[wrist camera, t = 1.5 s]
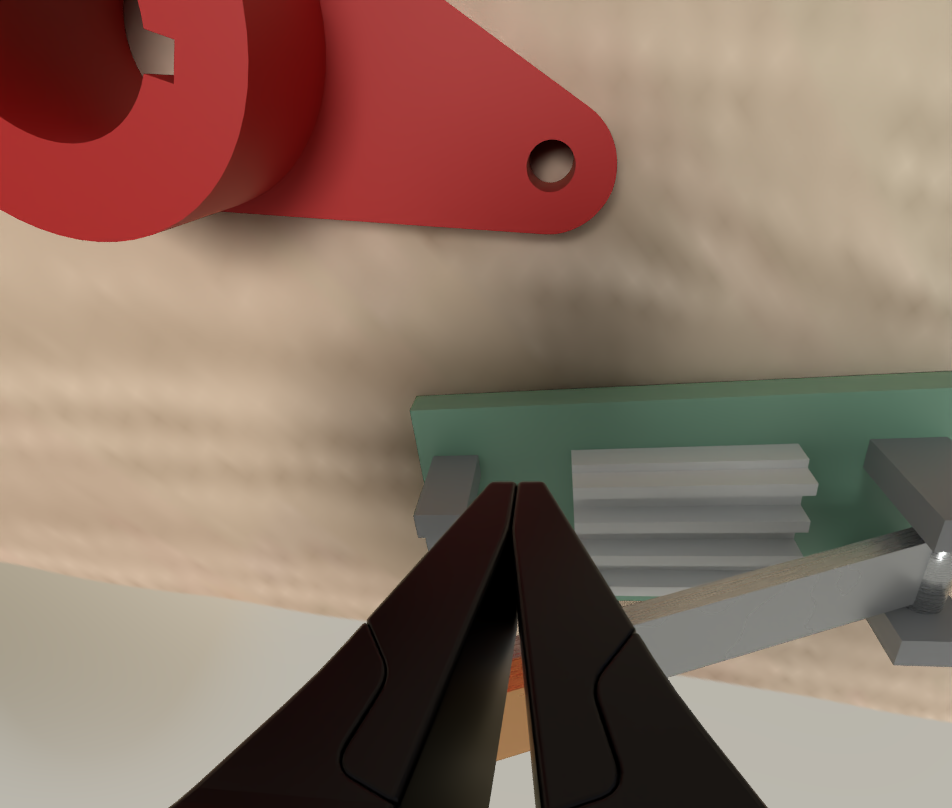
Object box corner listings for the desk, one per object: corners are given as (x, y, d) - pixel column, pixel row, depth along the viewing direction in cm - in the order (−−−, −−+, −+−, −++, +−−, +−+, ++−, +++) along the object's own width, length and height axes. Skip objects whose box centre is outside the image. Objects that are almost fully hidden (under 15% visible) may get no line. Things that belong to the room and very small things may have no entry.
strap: (942, 503, 18) (1005, 541, 17) (916, 578, 20) (970, 621, 18) (400, 649, 16) (407, 713, 14) (419, 722, 17) (428, 788, 16)
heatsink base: (951, 371, 19) (1083, 462, 14) (885, 582, 24) (968, 704, 19) (416, 396, 22) (378, 477, 17) (451, 578, 27) (428, 682, 22)
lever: (67, 147, 19) (-139, 169, 14) (42, -223, 15) (-288, -428, 9) (553, 312, 20) (551, 399, 14) (675, 8, 15) (746, -44, 10)
